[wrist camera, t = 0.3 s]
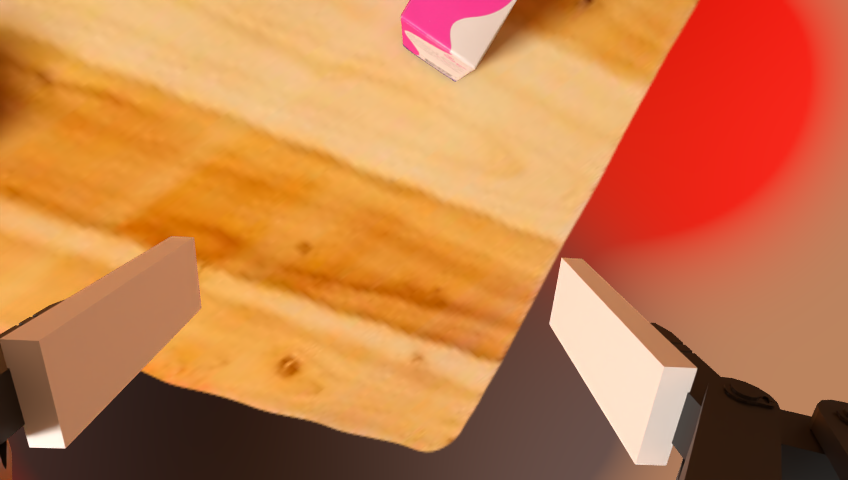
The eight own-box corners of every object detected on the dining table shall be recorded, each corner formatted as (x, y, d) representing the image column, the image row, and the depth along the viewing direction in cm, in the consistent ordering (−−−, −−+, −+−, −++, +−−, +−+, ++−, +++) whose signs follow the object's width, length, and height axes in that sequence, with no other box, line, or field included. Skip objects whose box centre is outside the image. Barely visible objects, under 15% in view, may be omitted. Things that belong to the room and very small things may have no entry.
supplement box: (493, 21, 37) (529, -12, 26) (455, 83, 38) (473, 76, 27) (437, -21, 36) (449, -73, 25) (400, 45, 37) (396, 21, 26)
